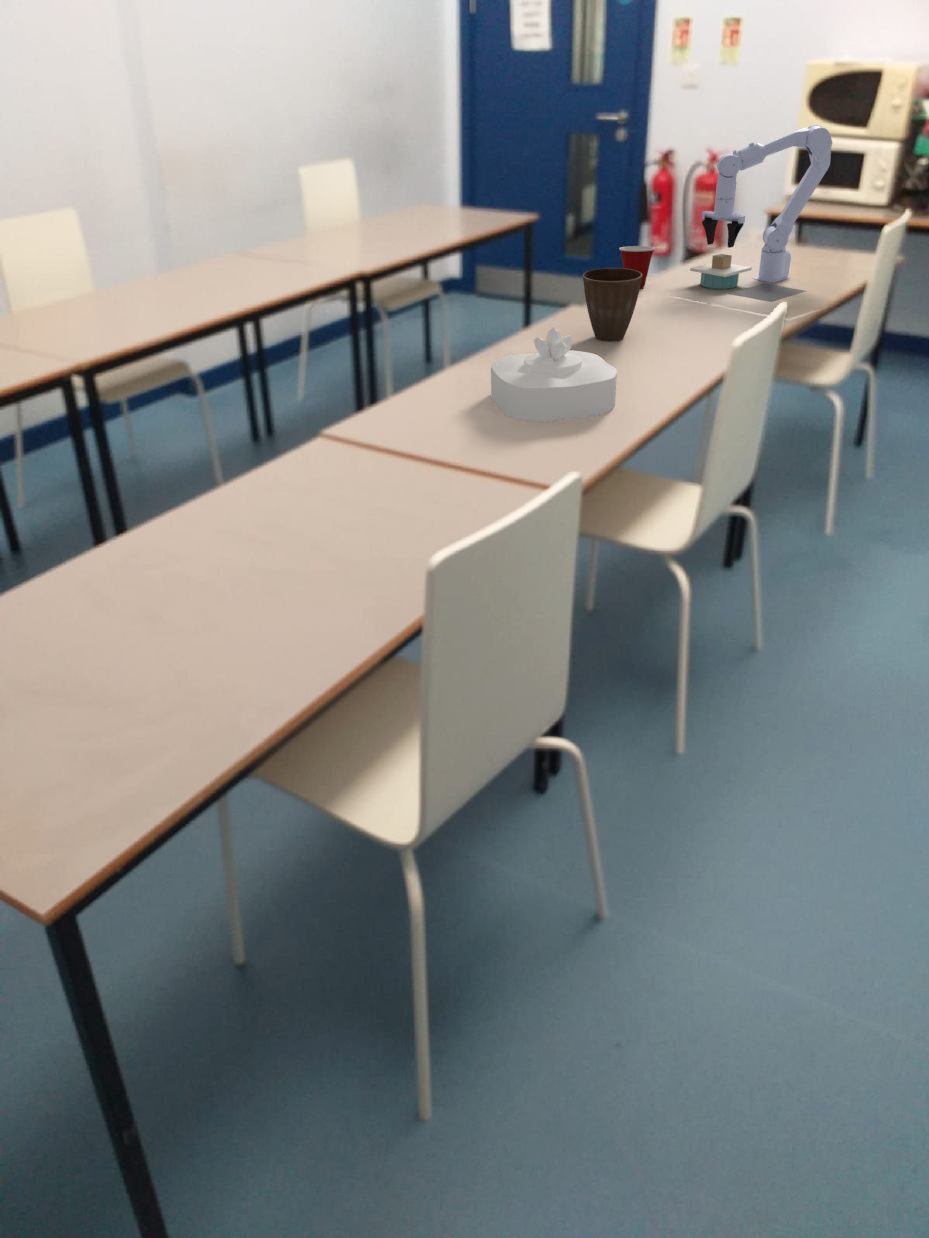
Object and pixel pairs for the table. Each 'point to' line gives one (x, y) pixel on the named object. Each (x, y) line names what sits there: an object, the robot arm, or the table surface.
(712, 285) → the bowl
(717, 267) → the lid
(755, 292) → the mat
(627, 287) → the plant pot
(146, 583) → the table surface
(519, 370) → the tissue box
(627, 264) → the plastic cup
